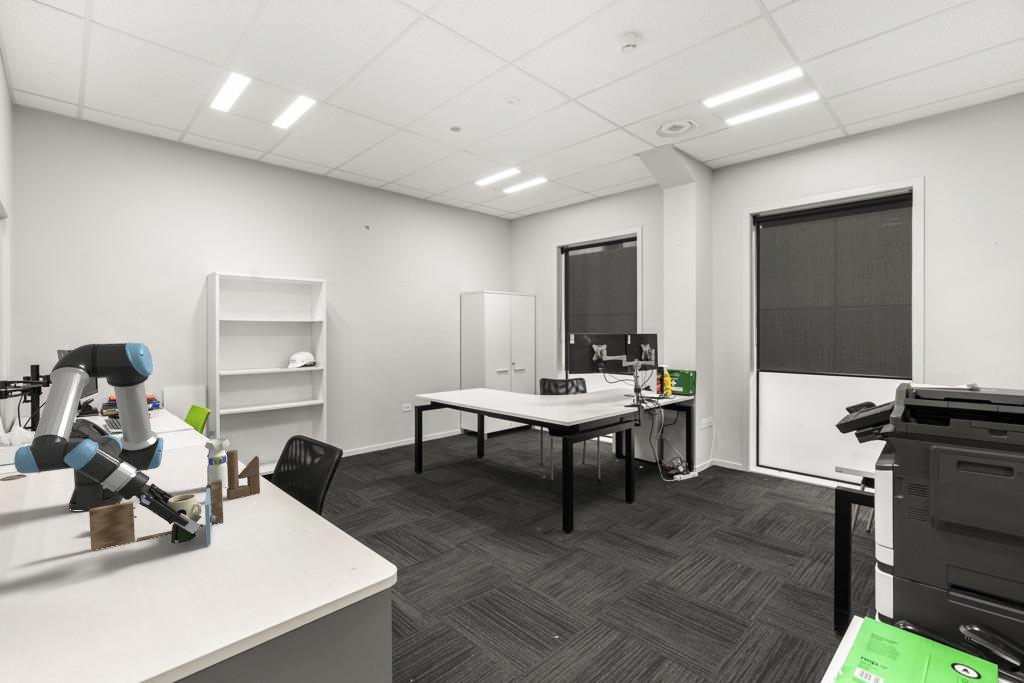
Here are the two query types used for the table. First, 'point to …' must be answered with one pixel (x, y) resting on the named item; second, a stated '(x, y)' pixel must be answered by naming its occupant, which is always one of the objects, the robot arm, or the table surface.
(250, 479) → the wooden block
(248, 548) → the table surface
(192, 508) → the character mug
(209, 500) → the door
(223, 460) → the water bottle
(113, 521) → the door frame
